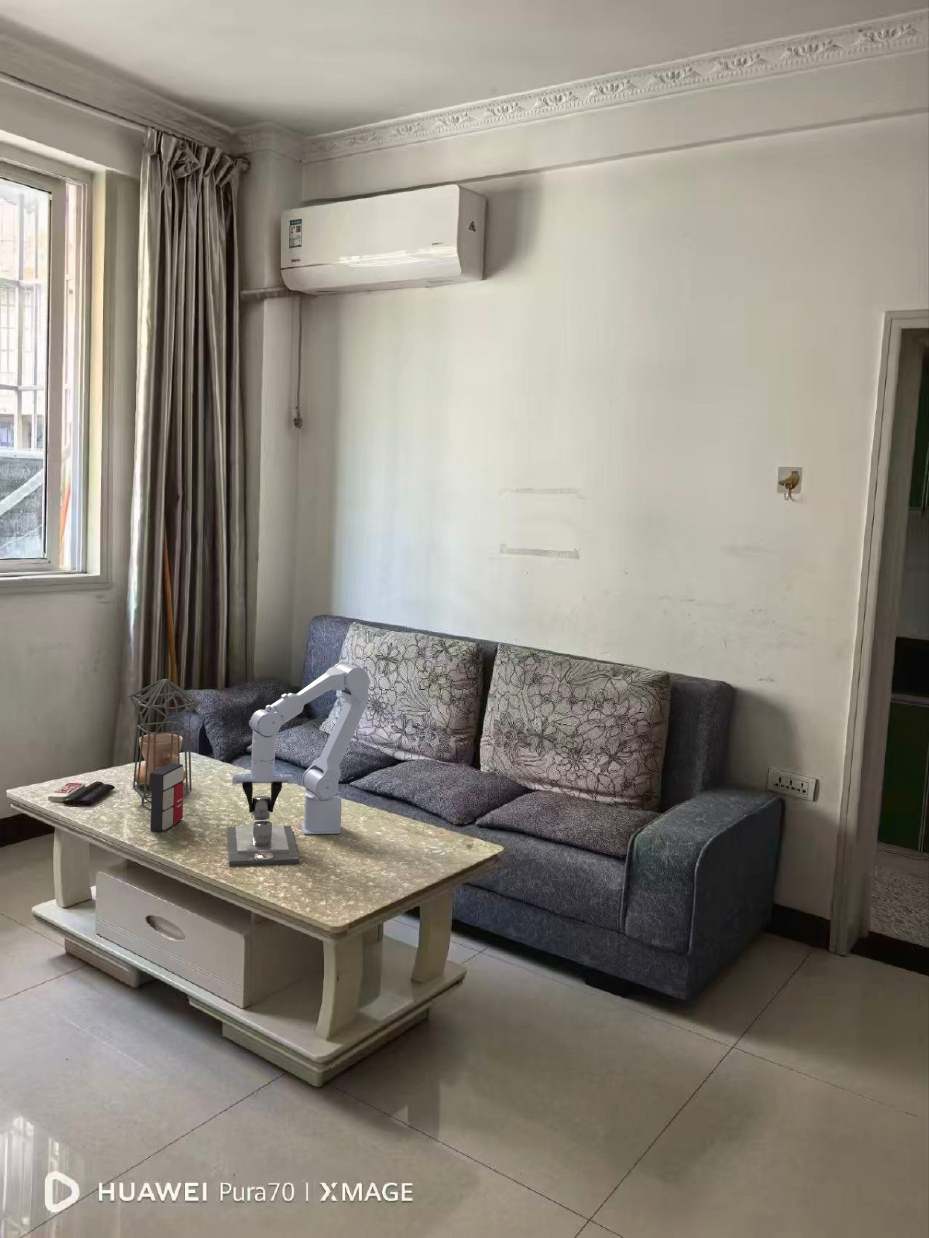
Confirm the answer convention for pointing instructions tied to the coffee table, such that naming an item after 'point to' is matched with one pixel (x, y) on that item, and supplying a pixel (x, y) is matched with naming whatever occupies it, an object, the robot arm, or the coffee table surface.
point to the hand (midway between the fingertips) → (261, 811)
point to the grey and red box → (166, 796)
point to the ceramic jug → (158, 754)
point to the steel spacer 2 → (262, 833)
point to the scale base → (261, 857)
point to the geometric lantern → (159, 685)
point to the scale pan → (246, 846)
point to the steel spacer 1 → (261, 807)
